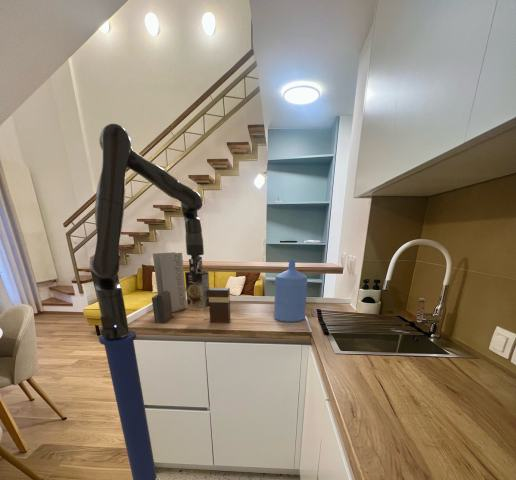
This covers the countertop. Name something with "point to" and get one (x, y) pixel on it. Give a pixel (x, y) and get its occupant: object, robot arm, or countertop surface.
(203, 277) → the coffee box
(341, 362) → the countertop surface
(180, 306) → the tall grey box
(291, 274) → the water jug
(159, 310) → the grey books
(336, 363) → the countertop surface
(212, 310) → the box
